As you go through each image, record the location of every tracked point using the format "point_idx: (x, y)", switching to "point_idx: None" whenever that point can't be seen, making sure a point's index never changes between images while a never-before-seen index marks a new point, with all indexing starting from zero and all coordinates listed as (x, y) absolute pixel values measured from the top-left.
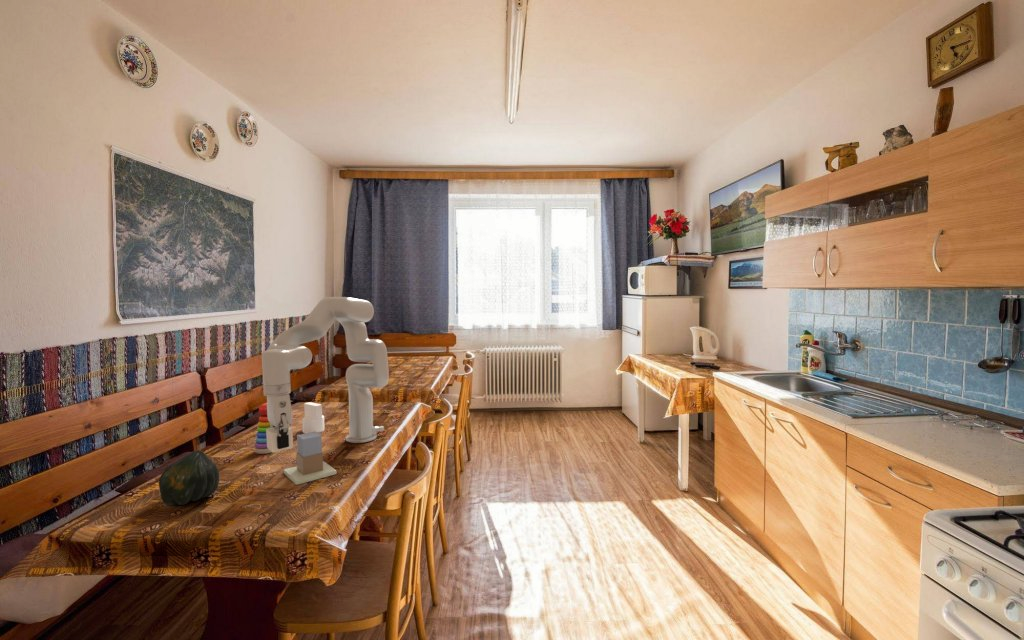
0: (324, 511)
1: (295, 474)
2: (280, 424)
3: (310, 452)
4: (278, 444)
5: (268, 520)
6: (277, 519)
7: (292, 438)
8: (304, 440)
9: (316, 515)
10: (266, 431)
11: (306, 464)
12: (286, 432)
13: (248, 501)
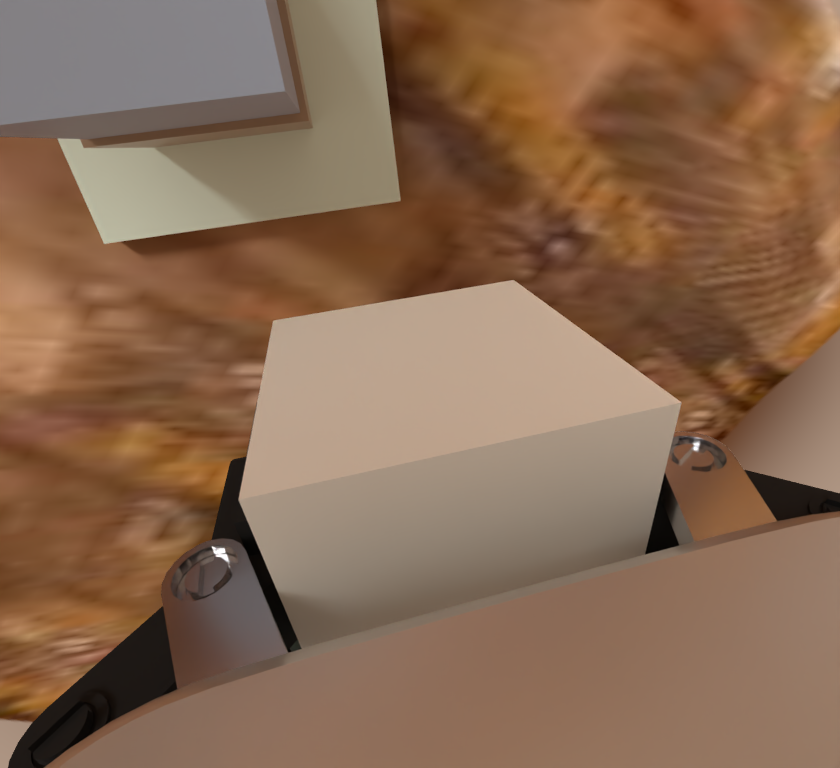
0: (828, 132)
1: (265, 179)
2: (273, 622)
3: (275, 4)
4: None
5: (699, 362)
6: (719, 333)
7: (574, 327)
8: (280, 63)
9: (826, 180)
10: None
11: (303, 87)
12: (799, 497)
13: None
